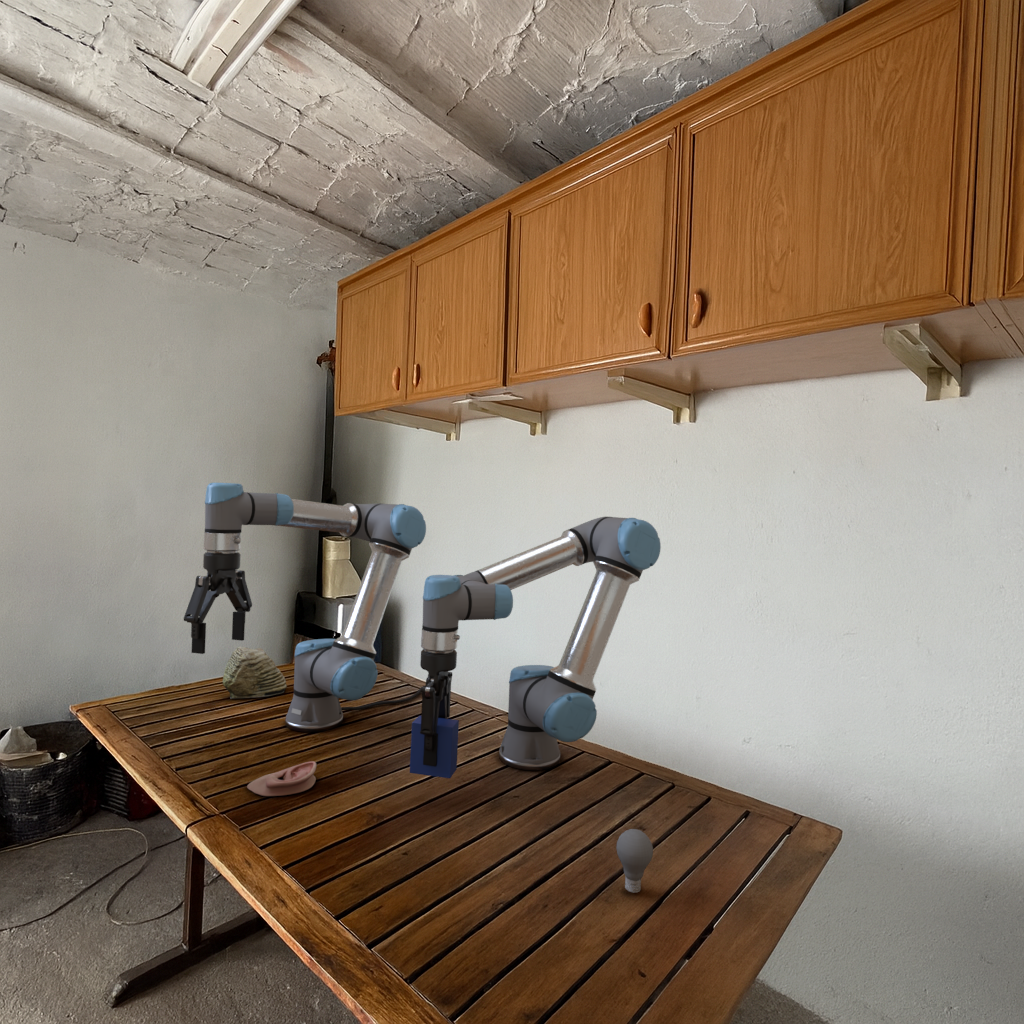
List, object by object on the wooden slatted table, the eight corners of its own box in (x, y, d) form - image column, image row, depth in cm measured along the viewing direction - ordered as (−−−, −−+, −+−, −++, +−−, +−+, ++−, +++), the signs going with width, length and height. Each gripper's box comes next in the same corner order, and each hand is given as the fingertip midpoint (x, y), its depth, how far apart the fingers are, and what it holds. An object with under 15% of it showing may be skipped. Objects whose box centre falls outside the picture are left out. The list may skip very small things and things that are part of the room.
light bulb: (610, 879, 108) (613, 822, 108) (644, 879, 109) (647, 822, 109) (619, 902, 102) (622, 840, 102) (655, 901, 103) (658, 840, 103)
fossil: (218, 695, 195) (220, 647, 195) (278, 685, 208) (279, 640, 207) (228, 703, 189) (230, 653, 188) (289, 692, 201) (290, 645, 201)
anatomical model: (239, 773, 134) (270, 753, 145) (238, 792, 134) (269, 770, 145) (296, 782, 131) (323, 760, 142) (295, 801, 131) (323, 777, 142)
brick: (409, 773, 132) (411, 722, 131) (417, 764, 136) (419, 715, 136) (450, 778, 130) (452, 727, 130) (456, 769, 134) (459, 720, 134)
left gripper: (198, 557, 129) (195, 661, 129) (269, 548, 153) (266, 636, 153) (166, 554, 130) (163, 657, 130) (241, 547, 155) (238, 633, 155)
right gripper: (443, 661, 123) (437, 780, 124) (467, 642, 141) (462, 746, 141) (406, 657, 125) (401, 774, 125) (435, 639, 142) (430, 742, 142)
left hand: (219, 646), depth 142 cm, fingers open, 13 cm apart
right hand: (434, 759), depth 133 cm, fingers closed on brick, 5 cm apart
